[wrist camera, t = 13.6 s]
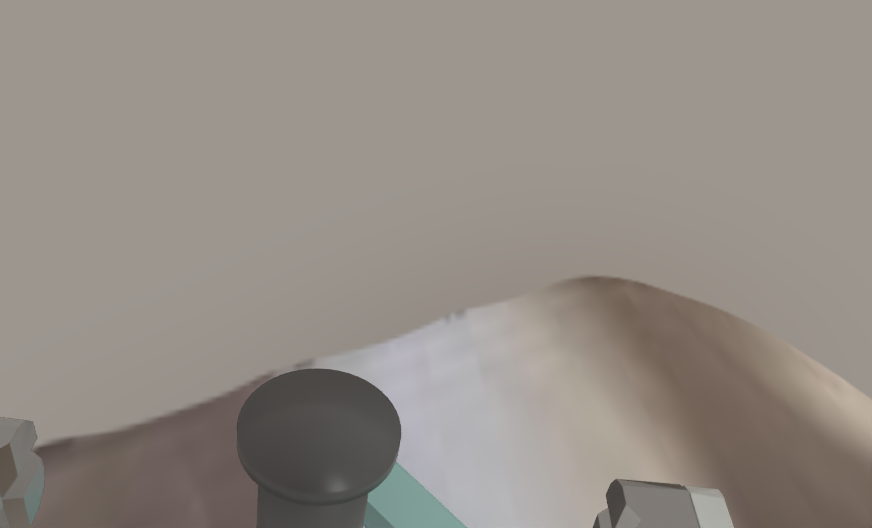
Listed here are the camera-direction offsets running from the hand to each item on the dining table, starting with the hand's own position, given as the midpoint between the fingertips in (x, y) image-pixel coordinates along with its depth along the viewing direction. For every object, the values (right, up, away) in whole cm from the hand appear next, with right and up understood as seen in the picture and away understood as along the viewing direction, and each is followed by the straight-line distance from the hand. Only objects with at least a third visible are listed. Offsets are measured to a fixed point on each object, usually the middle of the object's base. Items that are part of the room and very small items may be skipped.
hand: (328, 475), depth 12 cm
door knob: (-5, -14, +28) cm, 32 cm away
